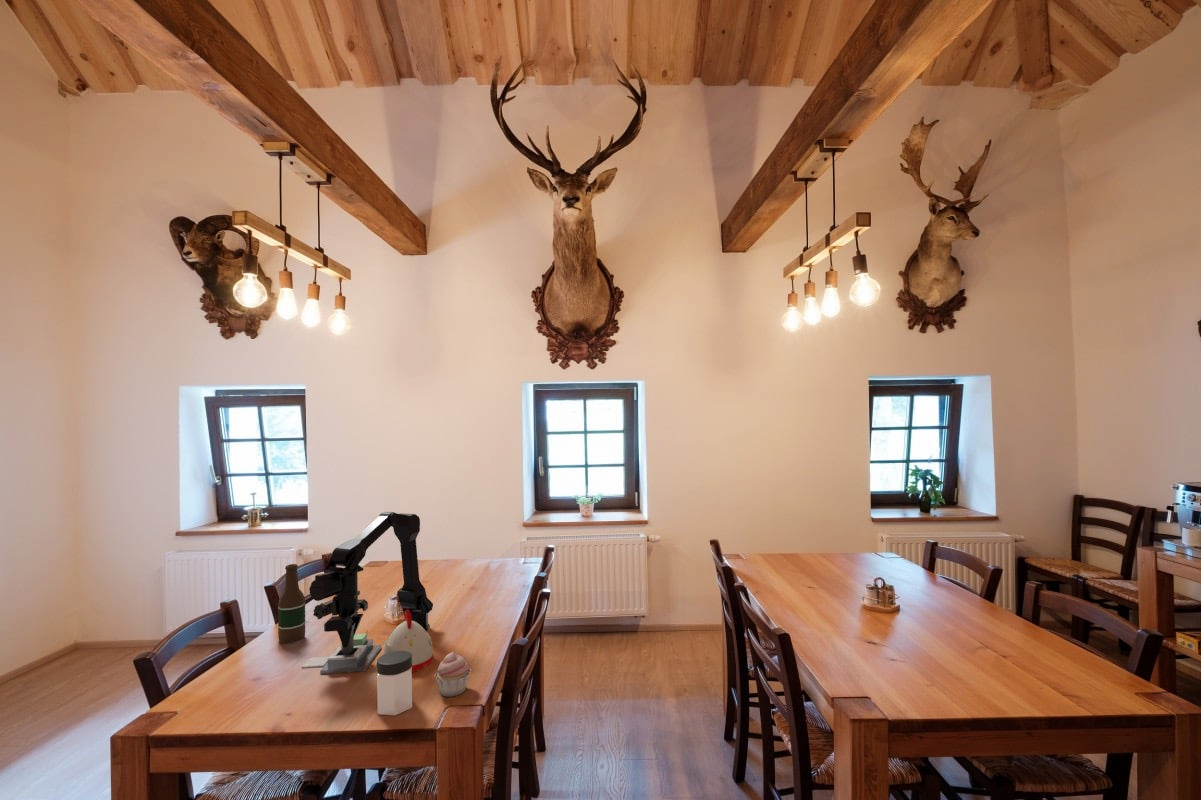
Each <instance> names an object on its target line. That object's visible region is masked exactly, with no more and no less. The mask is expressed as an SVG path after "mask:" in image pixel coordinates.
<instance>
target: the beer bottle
mask: <svg viewBox="0 0 1201 800" xmlns="http://www.w3.org/2000/svg"><path fill="white" fill-rule="evenodd" d="M284 568H285V579H284V581H285V583H284V584H285V585H284V589H283V592H282V594H281V595H280V596H279V598H278V599H279V600H278V602H277V603H278V604H277V609H278V611H277V616H278V617H277V619H278V620H277V623H278V624H277V625H278V626H277V627H278V628H277V632H278V634H277V637H278V641H279V642H280V643H282V644H288V643H289V644H292V643H295V642H297V641H298V642H299V641H301V640H302V639H303V638H305V636H306V598H305V595H304V593H303V592H302V590H301V589H300V585H299V577H298V568H299V566H298V564H296V563H290V564H287V565H286V566H285V567H284Z"/></svg>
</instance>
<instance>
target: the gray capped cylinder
mask: <svg viewBox="0 0 1201 800" xmlns="http://www.w3.org/2000/svg"><path fill="white" fill-rule="evenodd" d="M352 623H353V620H352ZM340 644H341V646H340V647H341V652H342V655H354V634H353V632H352V635H351V638H350V641H349V644H348V647H345V648H344V647H343V645H342V643H341V642H340Z"/></svg>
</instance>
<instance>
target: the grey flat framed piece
mask: <svg viewBox="0 0 1201 800" xmlns="http://www.w3.org/2000/svg"><path fill="white" fill-rule="evenodd" d="M380 650H382V644H375V645H374V639H373V638H367V641H366V642H365V643H364V645H361V646H354V655H342V652H341V646H338V647H337V648H336V649H335V650H334V651H333V652H332V653H331V654H330V655H329V656H327V657H328V662H327V663H326V664H325V666H324V667H322V668H321V669H320V670H319V675H330V674H342V673H343V674H344V673H357V672H366V670H367V669H368V667H369V666H370V665H371V663H372V662H373V660H374V659H375V657H376V656H377V655H378V653H379V652H380Z"/></svg>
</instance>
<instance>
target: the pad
mask: <svg viewBox="0 0 1201 800" xmlns="http://www.w3.org/2000/svg"><path fill="white" fill-rule="evenodd" d="M328 657H329V656H320V657H319V656H317V657H310V658H309V659H308V660H307V661H306V662H305V663H303V665H302V666H301V669H307V668H321V667H322V668H323V667H324V666H325V665H326V664H327V662H328Z"/></svg>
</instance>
